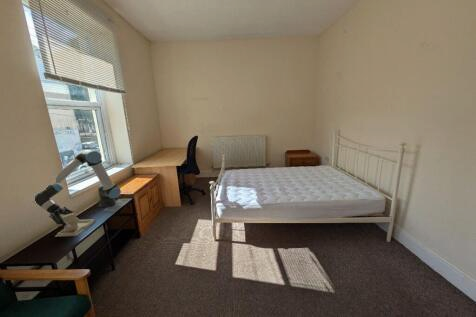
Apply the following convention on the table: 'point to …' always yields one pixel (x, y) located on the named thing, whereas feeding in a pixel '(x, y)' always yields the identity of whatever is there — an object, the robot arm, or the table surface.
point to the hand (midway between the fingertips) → (74, 224)
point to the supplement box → (70, 221)
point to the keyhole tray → (81, 227)
